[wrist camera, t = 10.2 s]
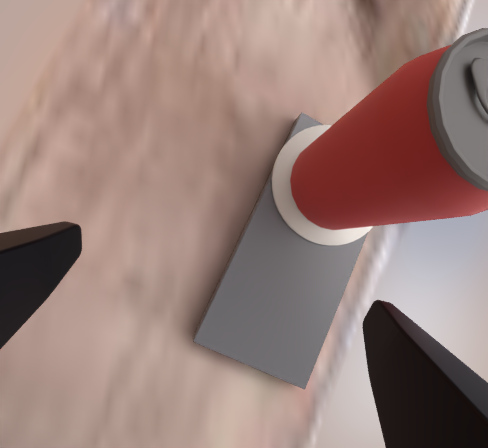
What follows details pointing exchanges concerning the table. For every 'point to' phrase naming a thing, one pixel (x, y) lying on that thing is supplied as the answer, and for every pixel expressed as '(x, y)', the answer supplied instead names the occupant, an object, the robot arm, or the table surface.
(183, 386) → the table surface
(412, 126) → the beer can
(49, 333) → the table surface
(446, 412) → the robot arm
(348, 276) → the charging dock
